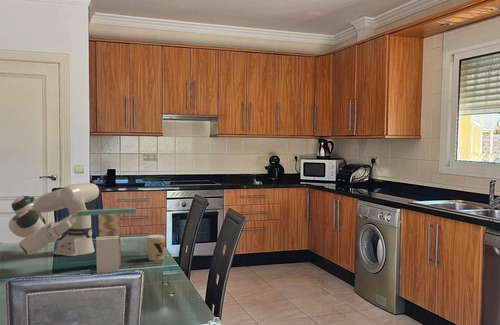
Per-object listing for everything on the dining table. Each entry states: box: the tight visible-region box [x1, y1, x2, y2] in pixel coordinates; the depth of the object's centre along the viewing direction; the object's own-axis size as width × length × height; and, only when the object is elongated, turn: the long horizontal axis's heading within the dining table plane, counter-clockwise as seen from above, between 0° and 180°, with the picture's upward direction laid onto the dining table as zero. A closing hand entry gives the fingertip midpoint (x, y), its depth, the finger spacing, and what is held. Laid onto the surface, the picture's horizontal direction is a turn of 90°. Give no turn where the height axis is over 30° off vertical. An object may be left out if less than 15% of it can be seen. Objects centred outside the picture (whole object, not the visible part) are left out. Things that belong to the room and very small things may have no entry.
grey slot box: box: [95, 236, 120, 274], centre depth 215 cm, size 10×7×16 cm
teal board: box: [77, 207, 137, 216], centre depth 224 cm, size 28×4×2 cm, turn 108°
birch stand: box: [97, 214, 122, 267], centre depth 225 cm, size 10×8×26 cm
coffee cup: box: [146, 234, 166, 261], centre depth 237 cm, size 9×9×12 cm
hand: (80, 215), depth 220 cm, fingers open, 8 cm apart
